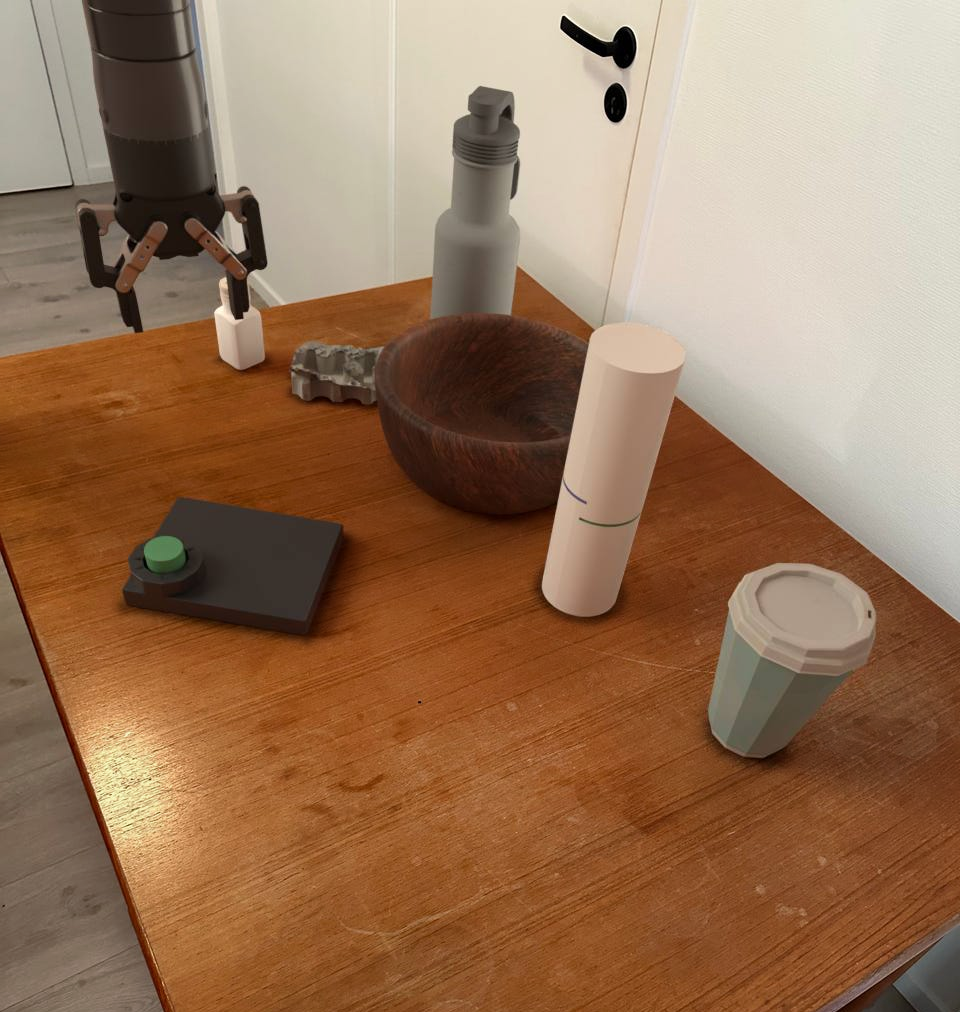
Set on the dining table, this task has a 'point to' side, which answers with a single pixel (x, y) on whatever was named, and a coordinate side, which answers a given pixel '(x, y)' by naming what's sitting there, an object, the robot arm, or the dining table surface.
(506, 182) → the water bottle
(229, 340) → the pepper shaker
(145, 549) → the button
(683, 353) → the cylindrical container
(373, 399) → the egg carton
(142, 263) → the robot arm
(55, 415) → the dining table surface
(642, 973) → the dining table surface
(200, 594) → the dark grey flat block
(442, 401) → the wooden bowl
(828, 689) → the disposable coffee cup
